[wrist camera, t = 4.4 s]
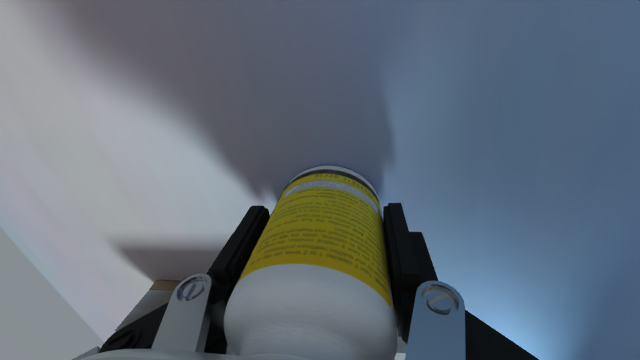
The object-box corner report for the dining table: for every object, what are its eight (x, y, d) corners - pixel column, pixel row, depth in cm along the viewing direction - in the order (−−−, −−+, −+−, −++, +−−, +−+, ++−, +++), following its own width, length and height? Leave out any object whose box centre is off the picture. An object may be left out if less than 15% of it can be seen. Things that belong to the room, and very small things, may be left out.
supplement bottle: (269, 170, 13) (103, 409, 4) (374, 154, 12) (417, 439, 3) (296, 247, 15) (221, 498, 7) (385, 240, 14) (427, 533, 6)
